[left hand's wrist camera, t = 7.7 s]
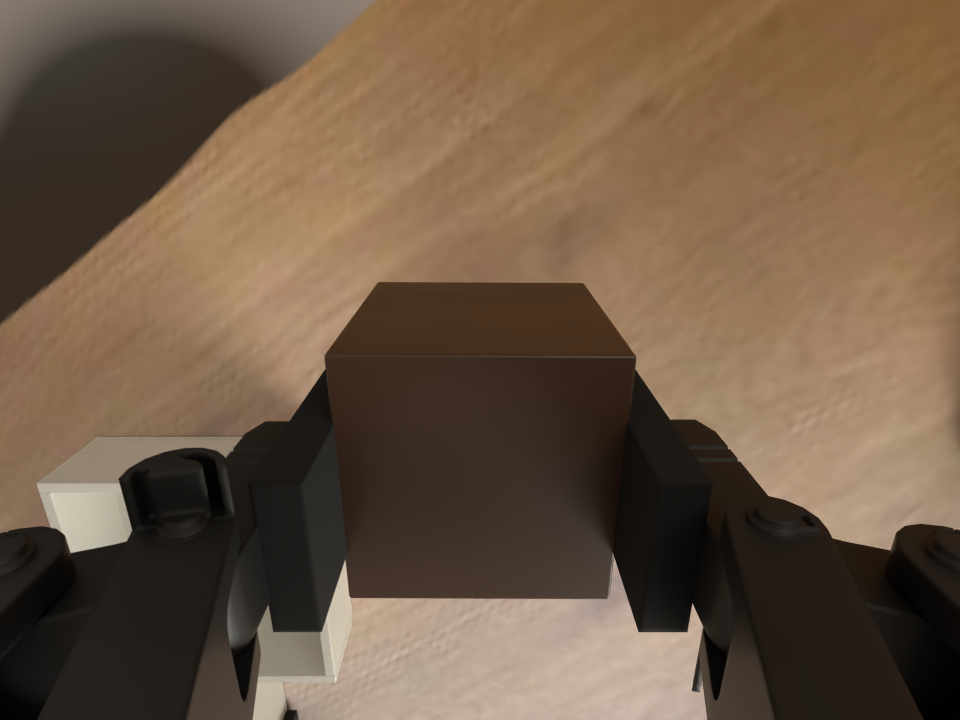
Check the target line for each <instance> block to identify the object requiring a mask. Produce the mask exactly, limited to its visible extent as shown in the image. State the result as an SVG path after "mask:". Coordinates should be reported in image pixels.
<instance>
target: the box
mask: <svg viewBox="0 0 960 720" xmlns="http://www.w3.org/2000/svg"><path fill="white" fill-rule="evenodd" d="M241 438H242V437H96V438H95V439H94V440H92V441H91V442H90V443H88V444H87V445H86V446H85V447H83V448H82V449H81V450H79V451H78V452H77V453H75V454H74V455H73V456H71V457H70V458H69V459H67V460H66V461H65V462H64V463H62V464H61V465H60V466H58V467H57V468H56V469H54V470H53V471H52V472H50V473H49V474H48V475H47V476H45V477H44V478H43V479H41V480H40V481H39V482H37V483H36V485H37V488H38V491H39V493H40V497H41V500H42V503H43V506H44V509H45V512H46V515H47V518H48V521H49V524H50V527H51V528H56V529H58V530H59V531H60V532H62V533H63V534H64V535H65V536H66V540H67V543H68V546H69V549H70V552H71V553H74V552H79V551H84V550H89V549H94V548H99V547H104V546H109V545H114V544H118V543H122V542H126V541H127V540H128V538H129V536H130V534H131V532H132V528H131V524H130V520H129V517H128V513H127V509H126V505H125V502H124V498H123V494H122V491H121V487H120V483H119V478H120V477H121V476H122V475H123V473H124V472H125V471H126V470H127V469H128V468H130V467H132V466H133V465H135V464H137V463H139V462H140V461H142V460H144V459H146V458H149V457H152V456H154V455H157V454H160V453H163V452H167V451H172V450H177V449H182V448H207V449H212V450H217V451H218V452H219V453H221V454H222V455H223V456H225V458H226V457H227V456H228V454H229V453H230V452H231V451H233V448H234V447H235V446H236V444H237V443H238V442H239V441H240V440H241ZM352 621H353V613H352V604H351V598H350V596H349V589H348V580H347V570H346V560H345V562H344V565H343V568H342V571H341V574H340V577H339V581H338V584H337V587H336V590H335V593H334V596H333V599H332V602H331V605H330V608H329V611H328V614H327V617H326V621H325V624H324V627H323V630H322V632H273V628H272V622H271V616H270V611H269V605H268V607H267V609H266V611H265V613H264V616H263V618H262V620H261V622H260V624H259V627H258V629H257V631H258V637H259V642H260V650H261V659H260V667H259V674H258V682H257V690H256V698H255V706H254V714H253V720H283V719H284V716H285V714H286V711H287V704H286V698H285V692H284V686H283V683H336V680H337V677H338V673H339V669H340V666H341V662H342V658H343V654H344V651H345V647H346V643H347V639H348V636H349V632H350V628H351V624H352Z"/></svg>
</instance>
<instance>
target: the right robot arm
mask: <svg viewBox="0 0 960 720" xmlns="http://www.w3.org/2000/svg"><path fill="white" fill-rule="evenodd" d="M283 720H298V715H297V710H287V711H286V714H285V716H284V719H283Z"/></svg>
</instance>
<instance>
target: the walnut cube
mask: <svg viewBox="0 0 960 720" xmlns="http://www.w3.org/2000/svg"><path fill="white" fill-rule="evenodd" d="M325 366H326V376H327V386H328V395H329V405H330V415H331V422H333V423H334V432H335V441H336V451H337V460H338V470H339V479H340V489H341V498H342V507H343V517H344V526H345V536H346V545H347V556H346V559H345V560H346V570H347V580H348V589H349V596H350V598H475V599H609V597H610V588H611V579H612V571H613V562H614V554H613V550H614V541H615V531H616V522H617V513H618V503H619V494H620V485H621V475H622V466H623V457H624V447H625V438H626V429H627V423H629V419H630V410H631V402H632V393H633V384H634V375H635V366H636V356H635V354H634V353H633V351H632V350H631V349H630V347H629V346H628V345H627V343H626V342H625V340H624V339H623V338H622V336H621V335H620V333H619V332H618V331H617V329H616V328H615V327H614V325H613V324H612V322H611V321H610V320H609V318H608V317H607V315H606V314H605V313H604V311H603V310H602V309H601V307H600V306H599V304H598V303H597V302H596V300H595V299H594V297H593V296H592V295H591V293H590V292H589V291H588V289H587V288H586V286H585V285H584V284H583V283H429V282H379V283H377V285H376V286H375V287H374V289H373V290H372V291H371V293H370V294H369V296H368V297H367V298H366V300H365V301H364V302H363V304H362V305H361V306H360V308H359V309H358V311H357V312H356V313H355V315H354V316H353V317H352V319H351V320H350V321H349V323H348V324H347V326H346V327H345V328H344V330H343V331H342V332H341V334H340V335H339V336H338V338H337V339H336V341H335V342H334V343H333V345H332V346H331V347H330V349H329V350H328V351H327V353H326V354H325Z"/></svg>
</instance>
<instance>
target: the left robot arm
mask: <svg viewBox="0 0 960 720" xmlns="http://www.w3.org/2000/svg"><path fill="white" fill-rule="evenodd" d="M119 483H120V487H121V491H122V494H123V498H124V502H125V505H126V509H127V513H128V517H129V520H130V524H131V528H132V532H131V534H130V536H129V538H128V540H127V541H126V542H122V543H118V544H114V545H109V546H104V547H99V548H94V549H89V550H84V551H79V552H74V553H71V552H70V549H69V546H68V543H67V540H66V536H65V535H64V534H63V533H62V532H60V531H59V530H58V529H56V528H48V527H41V526H40V527H31V528H23V529H15V530H11V531H8V532H7V533H6V532H3V533H0V720H253V714H254V706H255V698H256V690H257V682H258V674H259V667H260V659H261V650H260V642H259V637H258V631H257V629H258V627H259V624H260V622H261V620H262V618H263V616H264V613H265V611H266V609H267V607H268V605H269V611H270V616H271V622H272V628H273V632H322V630H323V627H324V624H325V621H326V617H327V614H328V611H329V608H330V605H331V602H332V599H333V596H334V593H335V590H336V587H337V584H338V581H339V577H340V574H341V571H342V568H343V565H344V562H345V559H346V556H347V545H346V536H345V526H344V517H343V507H342V498H341V489H340V479H339V470H338V460H337V451H336V441H335V432H334V423H333V422H331V415H330V405H329V395H328V386H327V376H326V369H325V370H324V372H323V373H322V375H321V376H320V378H319V379H318V381H317V382H316V384H315V385H314V386H313V388H312V389H311V391H310V392H309V394H308V395H307V397H306V398H305V400H304V401H303V402H302V404H301V405H300V407H299V408H298V410H297V411H296V413H295V414H294V415H293V417H292V418H291V420H290V421H265V422H264V423H262V424H261V425H259V426H257V427H256V428H254V429H252V430H251V431H249V432H247V433H246V434H245V435H244V436H243V437H242V438H241V440H240V441H239V442H238V443H237V444H236V446H235V447H234V448H233V451H231V452H230V453H229V454H228V456H227V457H226V458H225V456H223V455H222V454H221V453H219V452H218V451H217V450H212V449H207V448H182V449H177V450H172V451H167V452H163V453H160V454H157V455H154V456H152V457H149V458H146V459H144V460H142V461H140V462H139V463H137V464H135V465H133V466H132V467H130V468H128V469H127V470H126V471H125V472H124V473H123V475H122V476H121V477H120V478H119ZM613 554H614V557H615V561H616V564H617V567H618V570H619V573H620V576H621V579H622V582H623V585H624V588H625V591H626V594H627V598H628V601H629V604H630V607H631V610H632V613H633V616H634V619H635V622H636V625H637V628H638V631H639V632H687V631H688V625H689V619H690V613H691V608H692V603H693V605H694V607H695V609H696V612H697V614H698V616H699V618H700V620H701V622H702V625H703V631H702V637H701V642H700V647H699V653H698V658H697V664H696V669H695V674H694V680H693V687H692V691H695V692H700V689H701V684H702V681H703V689H704V697H705V704H706V712H707V720H960V530H957V529H956V530H953V528H949V527H944V526H935V525H926V524H916V525H909V526H904V527H903V528H902V529H900V530H899V531H898V532H897V533H896V535H895V538H894V542H893V545H892V548H891V551H890V550H885V549H880V548H875V547H870V546H865V545H859V544H854V543H849V542H844V541H841V540H837V539H833V538H832V537H831V535H830V533H829V531H828V529H827V528H826V527H825V525H824V524H823V523H822V522H821V521H820V519H819V518H818V517H816V516H815V515H813V514H812V513H810V512H809V511H807V510H806V509H804V508H803V507H800V506H798V505H796V504H793V503H791V502H788V501H786V500H783V499H778V498H774V497H770V496H768V495H767V494H766V493H765V491H764V490H763V489H762V488H761V487H760V485H759V484H758V483H757V482H756V480H755V479H754V478H753V477H752V476H751V474H750V473H749V472H748V471H747V469H746V468H745V467H744V466H743V465H742V463H741V462H738V460H737V457H736V456H735V455H734V454H733V452H732V451H731V450H730V449H728V446H727V445H726V444H725V443H724V441H723V440H722V439H721V438H720V437H719V435H718V434H717V433H716V432H715V431H713V430H712V429H710V428H708V427H707V426H705V425H703V424H702V423H700V422H698V421H697V420H670V419H669V418H668V416H667V415H666V413H665V412H664V410H663V409H662V407H661V406H660V405H659V403H658V402H657V400H656V399H655V397H654V396H653V394H652V393H651V392H650V390H649V389H648V387H647V386H646V384H645V383H644V381H643V380H642V378H641V377H640V376H639V374H638V373H637V371H636V370H635V375H634V384H633V393H632V402H631V410H630V419H629V423H627V429H626V438H625V447H624V457H623V466H622V475H621V485H620V494H619V503H618V513H617V522H616V531H615V541H614V550H613Z"/></svg>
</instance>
